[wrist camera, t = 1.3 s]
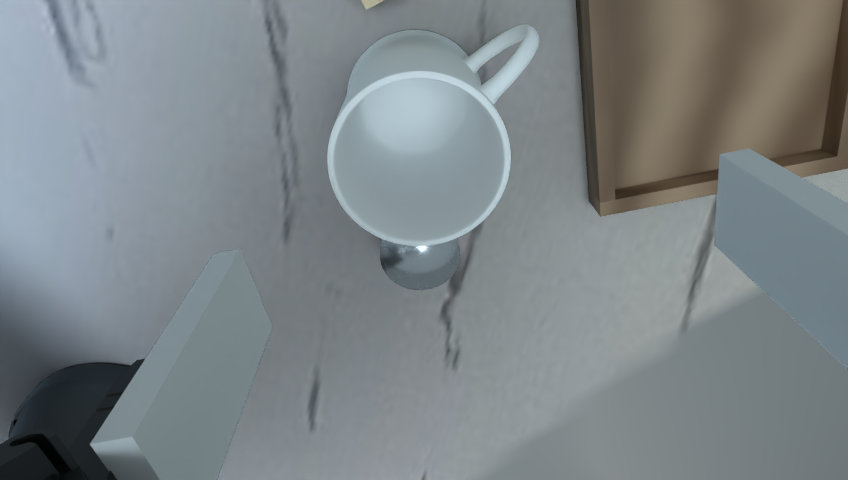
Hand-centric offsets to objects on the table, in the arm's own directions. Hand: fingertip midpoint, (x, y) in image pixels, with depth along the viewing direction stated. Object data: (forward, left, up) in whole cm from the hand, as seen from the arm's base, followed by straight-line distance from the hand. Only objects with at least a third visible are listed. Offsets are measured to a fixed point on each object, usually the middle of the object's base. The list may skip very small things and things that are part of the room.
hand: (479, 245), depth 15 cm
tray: (+17, -2, -21) cm, 27 cm away
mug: (0, 0, -21) cm, 21 cm away
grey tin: (-3, -9, -21) cm, 23 cm away
